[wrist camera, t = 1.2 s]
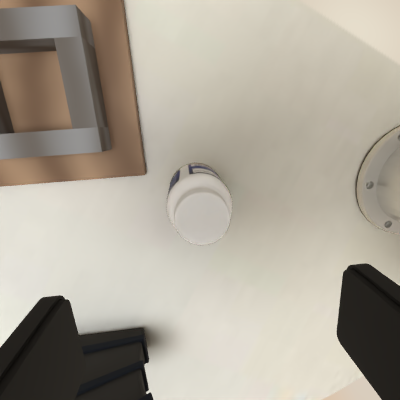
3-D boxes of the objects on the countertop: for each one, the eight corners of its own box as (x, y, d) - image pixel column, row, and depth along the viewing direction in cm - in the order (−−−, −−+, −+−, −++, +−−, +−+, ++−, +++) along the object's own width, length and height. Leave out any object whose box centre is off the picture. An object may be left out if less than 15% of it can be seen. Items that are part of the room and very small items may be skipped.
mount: (121, -12, 21) (107, -45, 17) (146, 172, 26) (139, 181, 22) (-73, -3, 21) (-135, -34, 17) (-13, 185, 25) (-50, 196, 21)
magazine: (21, 350, 29) (-7, 515, 16) (133, 304, 35) (176, 399, 22) (31, 374, 30) (11, 546, 17) (137, 326, 36) (181, 428, 23)
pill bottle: (186, 219, 28) (187, 267, 18) (160, 178, 26) (147, 206, 17) (229, 196, 27) (253, 232, 18) (205, 152, 26) (218, 167, 16)
